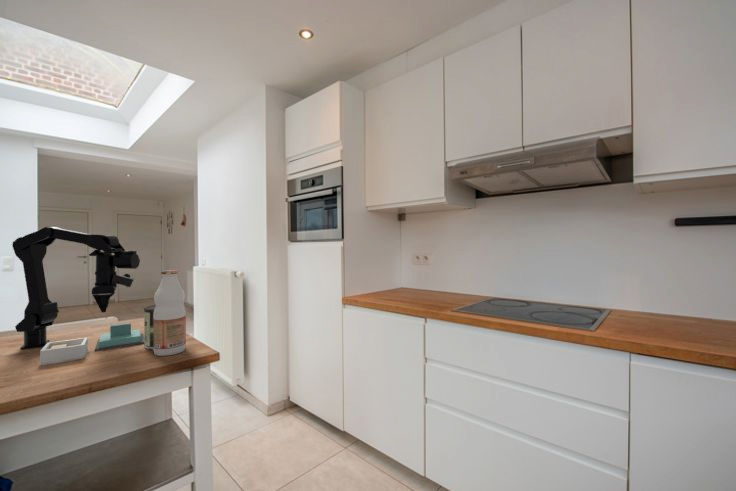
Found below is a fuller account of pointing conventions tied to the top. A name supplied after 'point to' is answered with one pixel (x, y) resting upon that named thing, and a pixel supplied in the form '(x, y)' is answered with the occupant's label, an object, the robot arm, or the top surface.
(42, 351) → the box
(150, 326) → the coffee can
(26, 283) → the robot arm
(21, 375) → the top surface
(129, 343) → the mat
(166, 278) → the fruit juice
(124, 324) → the lid
